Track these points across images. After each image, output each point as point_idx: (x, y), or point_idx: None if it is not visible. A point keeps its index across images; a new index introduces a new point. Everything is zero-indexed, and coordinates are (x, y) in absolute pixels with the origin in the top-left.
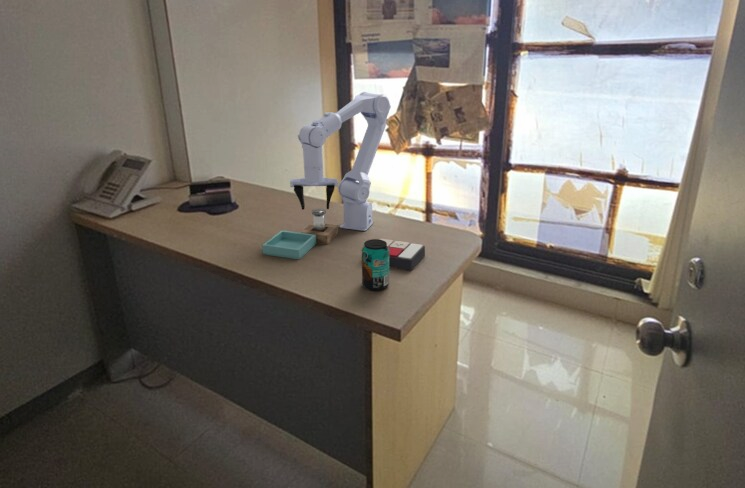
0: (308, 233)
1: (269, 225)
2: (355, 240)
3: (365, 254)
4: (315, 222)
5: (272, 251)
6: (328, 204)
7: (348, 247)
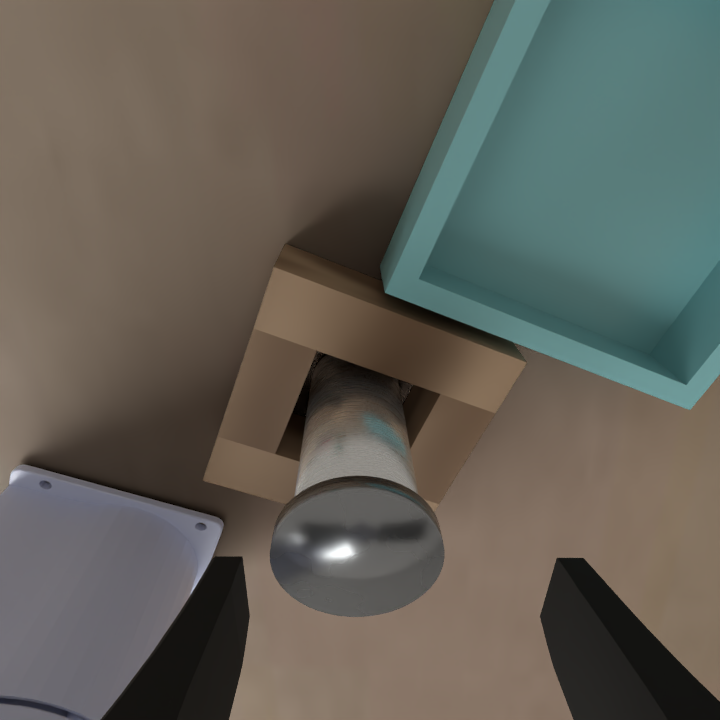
0: (456, 335)
1: (689, 573)
2: (58, 309)
3: None
4: (394, 437)
5: None
6: (187, 615)
7: (85, 162)
